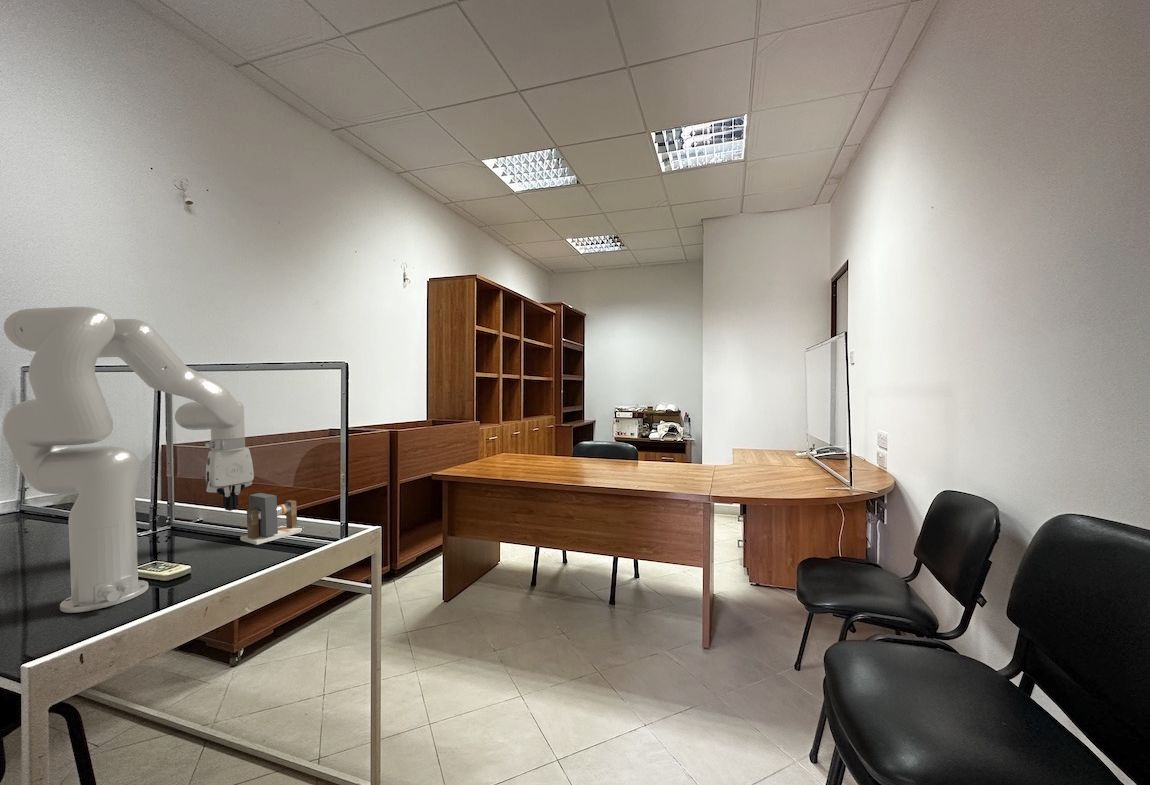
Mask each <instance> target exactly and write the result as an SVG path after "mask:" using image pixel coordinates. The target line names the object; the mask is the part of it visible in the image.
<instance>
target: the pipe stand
mask: <svg viewBox="0 0 1150 785" xmlns="http://www.w3.org/2000/svg"><path fill="white" fill-rule="evenodd" d="M297 510H298V509H297V500H292V499H290V500H286V501H285V503H284V504H283V503H282V504H279V505H278V504H277V517H279V516H284V515H285V520H286V524H285V525H287V526H283V525H280V526H279V525H278V534H274V535H271V536H267V537H266V536H262V535H259V522H258V521H259V520H261V510H257V509H246V524H247V526H246V528H247V529H246V530H247V535H241V536H240V541H242V542H245V543H249V544H253V545H256V546H257V545H262V544H264V543H268V542H272V541H275V540H278V539H282V538H285V537H288V536H292V535H293V536H294V535H295V534H300V533H302V532H301V531H302V528H295V527H296V525H297V526H298V516H297V514H298V513H297Z"/></svg>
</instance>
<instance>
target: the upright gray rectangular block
mask: <svg viewBox="0 0 1150 785" xmlns="http://www.w3.org/2000/svg"><path fill="white" fill-rule="evenodd" d="M277 499H278V498H277V495H274V494H268V493H263V492H259V493H254V494H249V495H248V506H249V507H248V508H249V509H257V510H261V520H259V521H258V522H259V535H262V536H266V537H267V536H271V535H274V534H278V527H279V525H278V516H277V506H278V501H277Z"/></svg>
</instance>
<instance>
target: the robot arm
mask: <svg viewBox="0 0 1150 785" xmlns="http://www.w3.org/2000/svg"><path fill="white" fill-rule="evenodd" d="M3 331H4V333H5V336H6V338H7V339H8V340H9V341H10V342H11V343H12V344H14V345H15V346H17V347H19V348H20V349H23V350H26V351H29V352H35V353H34V355H33V356H32V358H31V361H30V363H29V367H28V380H29V384H30V387H31V389H32V392H33V395H34V399H29V400H28V399H27V400H24V401H22V402H19V403H17V404H15V405H13V407H11V408H10V409H9V410H8V411H7V412H6V414H5V416H4V419H3V424H2V432H3V437H4V438H5V441H6V442H7V445H8V448H9V450H10V452H11V453H12V455H13V457H14V459H15V461H16V463H17V465H18V468H19V469H20V471H21V473H22V476H24V479H25V480H26V482H27V483H28V484H29V485H30V486H31V488H33V490H34V489H35V490H36V491H38V492H40V493H42V494H43V493H44V494H49V495H73V494H74V495H75V494H76V495H78V496H77V498H76V500H75V501H74V503H73V505H72V507H71V509H70V512H69V515H68V539H69V540H68V542H69V564H70V566H69V567H70V569H69V570H70V588H71V590H70V591H71V596H69V597H67V598H66V599H64V600H63V601H61V603H59V610H60V612H63V613H66V614H68V613H69V614H73V613H74V614H76V613H85V612H90V611H96V610H100V609H103V608H104V609H105V608H109V607H112V606H114V605H119V604H122V603H124V602H127V601H130V600H132V599H134V598H137V597H139V596H140V595H142V594H144V593H146V591H148V589H149V582H148V581H146V580H143V579H142V580H141V579H139V570H138V569H139V567H138V566H139V564H138V563H139V562H138V550H137V545H138V535H137V536H136V522H137V512H136V513H135V500H137V498H136V494H137V487H138V483H139V479H140V474H141V470H142V469H141V467H142V466H141V462H140V459H139V457H138V455H136V454H135V453H134V452H132V450H129V449H128V448H125V447H119V446H111V445H109V446H108V445H105V446H103V445H102V446H100V445H99V446H83V447H82V446H79V447H76V446H77V445H91V444H94V443H99V442H101V441H103V440H105V439H107V438H108V437H109V436H110V435H111V434H112V432H113V430H114V422H113V417H112V414H111V412H110V409H109V407H108V404H107V402H106V400H105V397H104V394H103V391H102V390H101V387H100V384H99V381H98V379H97V375H96V363H97V361H98V358H99V359H101V358H103V359H104V358H119V359H121V361H122V362H124V363H125V364H126V365H127V366H128V367H129V368H130V369H131V370H132V371H133V372H134V373H135V374H136V375H137V376H138V377H139V378H140V379H141V380H142V381H143V382H144V383H145V384H146V385H147V386H148V387H149V388H152V389H153V390H156V391H159V392H162V393H166V394H169V395H173V396H174V395H175V396H179V397H182V398H186V399H189V400H191V401H190V402H187V403H184V404H182V405H180V406H179V407H178V408H177V409H176V411H175V414H174V419H175V422H176V424H177V425H178V426H179V427H181V428H182V429H186V430H191V431H201V430H202V431H205V430H206V431H207V430H210V439H209V440H210V441H209V442H205V444H204V446H205V448H206V449H207V448H208V449H210V451H208V455H207V460H206V463H205V464H206V465H205V484H206V490H205V491H206V492H207V493H213V494H214V493H215V494H216V493H217V494H218V495H220V496H221V497H222V507H223V508H224V511H229V512H230V511H233V510H235V511H236V510H237V509H238V506H239V495H240V494H241V492H242V491H243V489H244V488H246V487H249V486H251V485H253V480H254V478H255V474H254V465H253V459H252V455H251V452H250V449H249V448H250V447H246V435H245V432H246V431H245V407H244V404H243V402H240V401H237V400H236V399H235V396H233V395H232V394H231V392H230V390H228V389H227V388H226V387H225V386H224V385H222V384H221V383H219V382H217V381H216V380H214V379H212V378H210V377H208V376H207V375H204V374H203V373H201V372H199V371H197V370H195V369H192V368H190V367H189V366H187V365H186V363H184V362H183V360H182V359H181V358H180V356H178V354H177V353H176V352H175V351H174V350H173V349H172V348H171V347H170V345H169V344H168V342H167V341H166V340H165V339H164V338H163V337H162V336H161V335H160V334H159V332H158V331H157V330H156V329H155V328H154V327H153V326H152V325H150V324H149V323H148V322H146V321H144V320H140V319H134V318H113V317H112V316H111V315H110V314H109V313H107V312H106V311H104V310H102V309H100V308H95V307H90V306H61V307H60V306H59V307H58V306H57V307H37V308H35V307H34V308H25V309H20V310H18V311H16V312H13V313H11V314H10V315H9V316H8V317H7V318H6V319H5V320H4V323H3Z"/></svg>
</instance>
